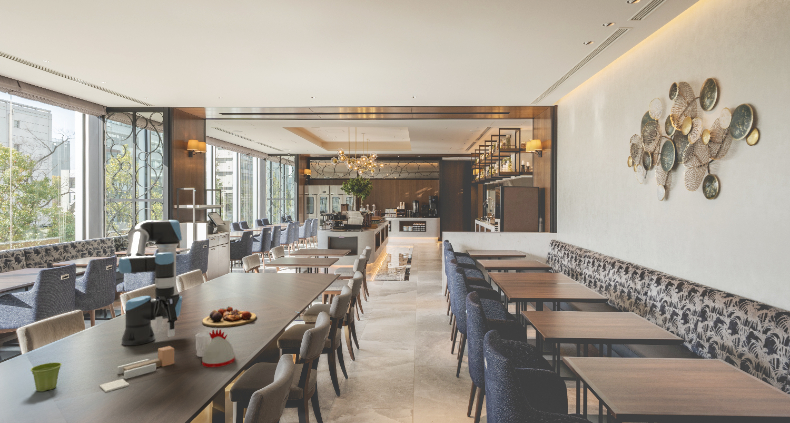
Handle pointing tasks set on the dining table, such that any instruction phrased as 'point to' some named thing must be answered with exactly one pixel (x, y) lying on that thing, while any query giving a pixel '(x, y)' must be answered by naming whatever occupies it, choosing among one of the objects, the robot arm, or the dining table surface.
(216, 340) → the white chicken figurine
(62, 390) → the dining table surface
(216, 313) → the wooden plate with food
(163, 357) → the block
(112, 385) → the coaster
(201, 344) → the white cup
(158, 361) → the rod
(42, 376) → the plant pot
